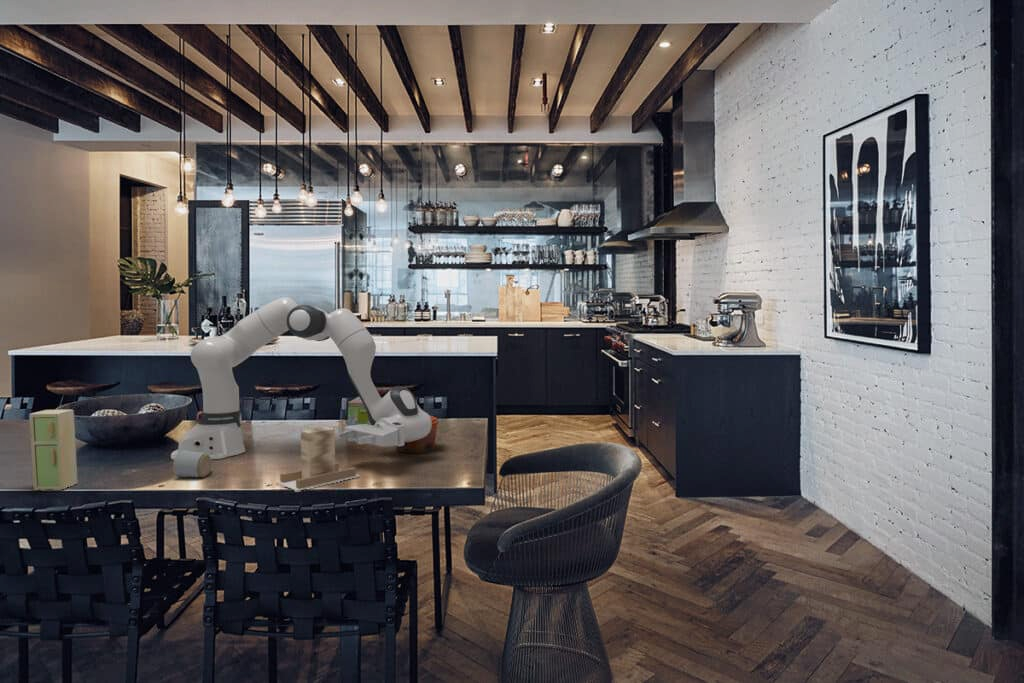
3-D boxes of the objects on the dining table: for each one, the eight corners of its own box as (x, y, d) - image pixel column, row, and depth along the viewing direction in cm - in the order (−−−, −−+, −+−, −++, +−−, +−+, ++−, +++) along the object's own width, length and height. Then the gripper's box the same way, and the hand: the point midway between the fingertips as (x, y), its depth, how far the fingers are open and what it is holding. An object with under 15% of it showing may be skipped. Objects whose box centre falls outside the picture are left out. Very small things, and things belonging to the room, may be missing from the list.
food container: (411, 442, 238) (411, 413, 238) (447, 447, 230) (447, 417, 230) (382, 451, 225) (381, 419, 224) (419, 457, 217) (419, 424, 216)
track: (296, 492, 177) (296, 481, 177) (276, 484, 184) (276, 474, 184) (359, 477, 192) (359, 467, 191) (338, 470, 199) (338, 461, 199)
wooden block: (310, 483, 184) (309, 433, 183) (301, 479, 187) (300, 430, 186) (335, 477, 189) (334, 428, 189) (326, 474, 192) (326, 426, 192)
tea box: (374, 442, 238) (374, 402, 237) (347, 442, 238) (346, 402, 237) (383, 434, 253) (383, 396, 252) (357, 434, 253) (356, 395, 252)
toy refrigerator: (30, 491, 177) (26, 413, 176) (49, 484, 184) (46, 409, 183) (60, 491, 177) (56, 413, 176) (78, 484, 184) (75, 409, 183)
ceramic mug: (199, 480, 188) (199, 454, 187) (172, 480, 189) (171, 453, 188) (219, 472, 198) (219, 446, 198) (193, 471, 199) (193, 445, 199)
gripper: (366, 417, 211) (328, 424, 201) (407, 425, 197) (368, 432, 187) (367, 437, 212) (329, 444, 201) (407, 446, 198) (368, 454, 188)
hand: (348, 438), depth 194 cm, fingers open, 8 cm apart
